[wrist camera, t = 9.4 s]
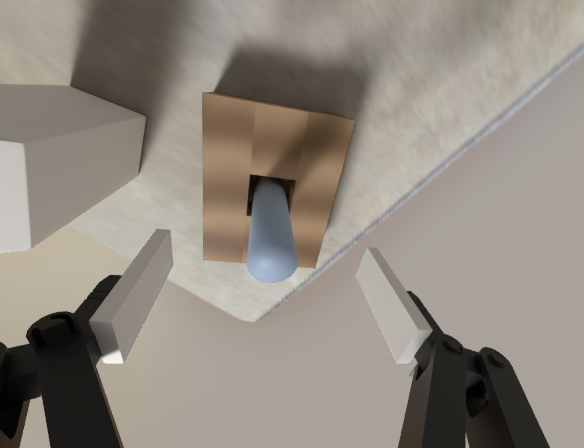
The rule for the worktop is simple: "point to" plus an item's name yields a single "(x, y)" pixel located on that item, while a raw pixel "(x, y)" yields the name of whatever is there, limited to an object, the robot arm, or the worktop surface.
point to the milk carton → (60, 158)
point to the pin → (271, 233)
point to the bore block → (268, 170)
